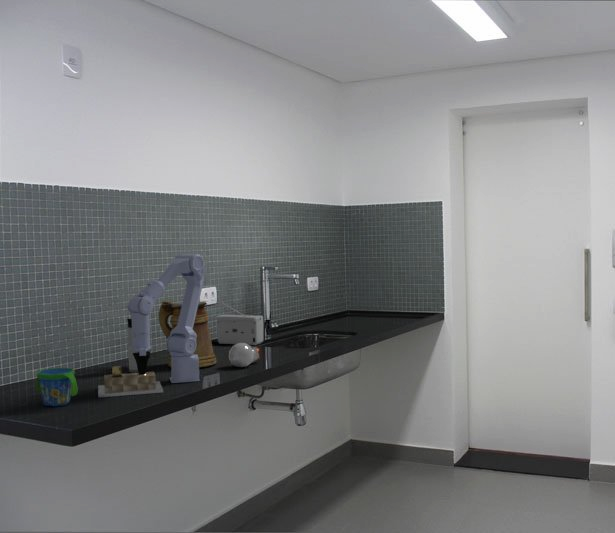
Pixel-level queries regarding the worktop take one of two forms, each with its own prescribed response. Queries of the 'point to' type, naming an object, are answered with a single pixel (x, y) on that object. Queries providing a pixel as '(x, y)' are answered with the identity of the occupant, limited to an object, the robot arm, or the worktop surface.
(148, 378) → the housing
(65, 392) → the snack cup
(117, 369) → the pin
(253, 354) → the potion bottle
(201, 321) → the tankard
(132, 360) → the travel mug
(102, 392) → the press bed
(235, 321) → the stereo radio cassette player
